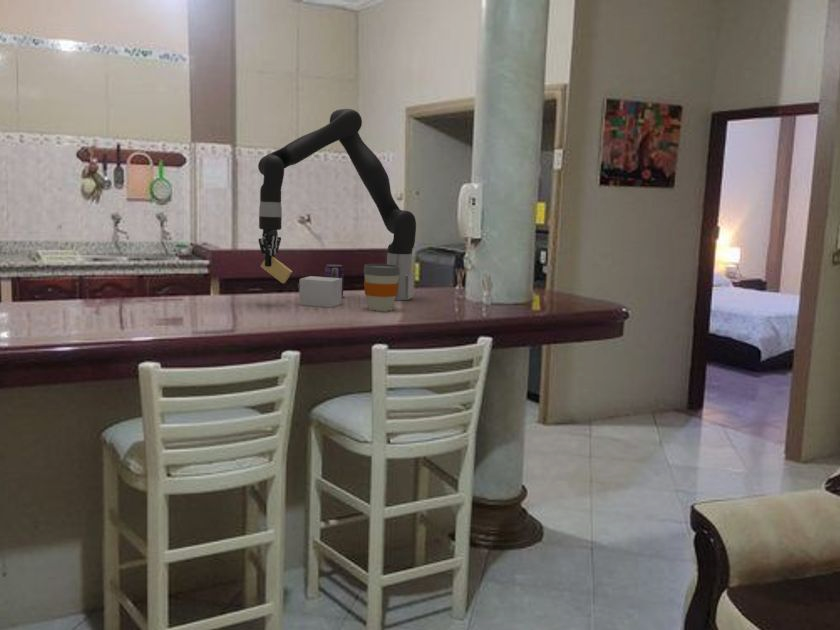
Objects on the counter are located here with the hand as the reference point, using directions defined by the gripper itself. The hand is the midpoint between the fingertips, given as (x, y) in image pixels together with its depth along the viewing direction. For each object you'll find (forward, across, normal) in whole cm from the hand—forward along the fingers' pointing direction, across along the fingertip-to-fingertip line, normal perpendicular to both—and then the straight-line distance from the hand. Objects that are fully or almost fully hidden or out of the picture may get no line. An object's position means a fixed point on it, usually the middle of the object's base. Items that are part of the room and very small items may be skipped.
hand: (269, 265), depth 271 cm
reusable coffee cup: (+13, +9, -38) cm, 41 cm away
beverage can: (+13, +28, -13) cm, 33 cm away
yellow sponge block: (+3, 0, -1) cm, 3 cm away
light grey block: (+13, +9, -16) cm, 22 cm away
